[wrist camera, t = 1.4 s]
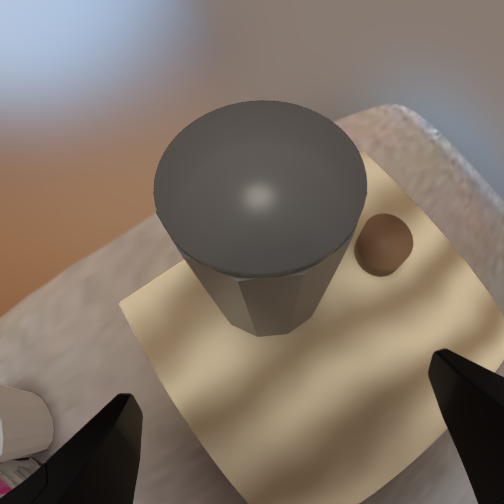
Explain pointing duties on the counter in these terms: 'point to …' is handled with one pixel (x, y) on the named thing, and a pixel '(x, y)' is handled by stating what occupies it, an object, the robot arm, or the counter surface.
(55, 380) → the counter surface
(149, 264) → the counter surface
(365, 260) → the brown round knob
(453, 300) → the birch board
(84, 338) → the counter surface
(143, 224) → the counter surface
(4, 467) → the candy bar box
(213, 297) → the grey cylinder
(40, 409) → the off-white short cylinder
